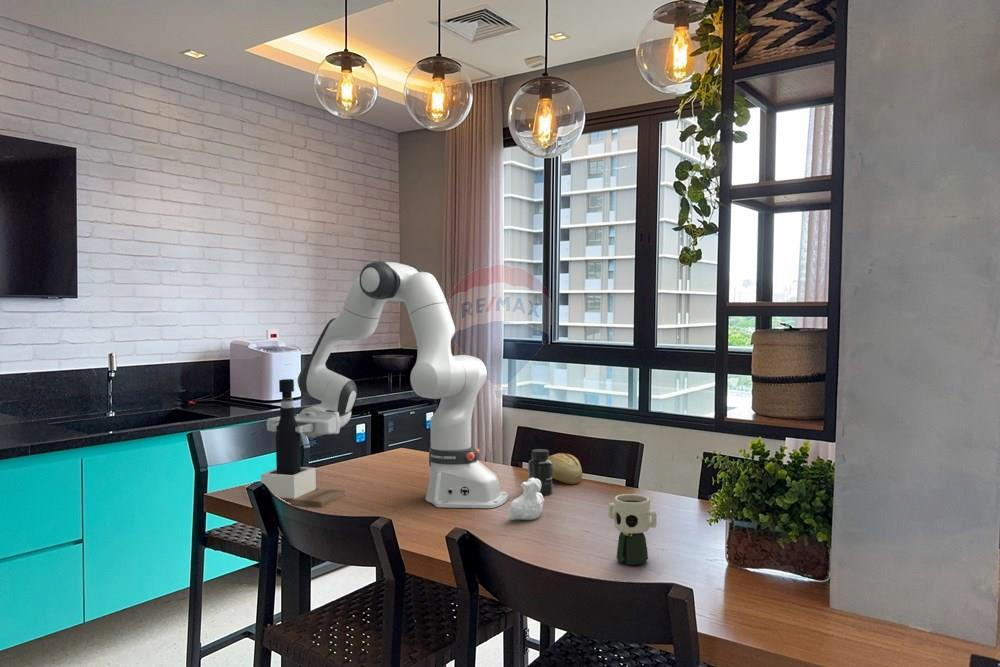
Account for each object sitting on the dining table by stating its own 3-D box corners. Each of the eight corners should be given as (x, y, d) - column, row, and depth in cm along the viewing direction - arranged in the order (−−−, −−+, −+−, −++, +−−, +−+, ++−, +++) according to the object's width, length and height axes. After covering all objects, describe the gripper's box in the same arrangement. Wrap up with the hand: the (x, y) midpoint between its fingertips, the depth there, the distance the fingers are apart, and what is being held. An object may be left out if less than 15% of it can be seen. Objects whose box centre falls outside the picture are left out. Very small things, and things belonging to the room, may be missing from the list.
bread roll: (555, 473, 219) (555, 448, 219) (591, 482, 208) (590, 455, 207) (533, 478, 213) (532, 452, 213) (568, 487, 201) (568, 460, 201)
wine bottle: (282, 491, 189) (279, 381, 188) (273, 487, 194) (270, 379, 193) (304, 487, 193) (302, 379, 192) (295, 483, 198) (292, 378, 197)
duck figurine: (513, 533, 167) (535, 501, 163) (494, 509, 171) (515, 477, 166) (543, 521, 177) (565, 490, 172) (524, 499, 180) (545, 468, 175)
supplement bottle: (553, 496, 192) (552, 452, 192) (528, 496, 192) (528, 453, 192) (552, 489, 199) (551, 447, 199) (528, 489, 199) (527, 448, 199)
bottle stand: (345, 495, 195) (344, 469, 195) (321, 507, 184) (321, 479, 183) (283, 491, 201) (282, 465, 201) (257, 502, 190) (256, 474, 189)
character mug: (599, 560, 143) (599, 497, 142) (618, 551, 148) (617, 490, 147) (647, 573, 135) (647, 506, 135) (665, 562, 141) (664, 499, 140)
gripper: (283, 409, 208) (253, 416, 195) (343, 411, 202) (317, 419, 189) (283, 430, 209) (254, 439, 195) (344, 433, 202) (318, 442, 189)
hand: (285, 429), depth 192 cm, fingers closed on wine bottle, 6 cm apart
